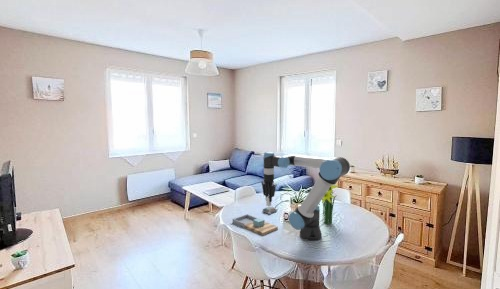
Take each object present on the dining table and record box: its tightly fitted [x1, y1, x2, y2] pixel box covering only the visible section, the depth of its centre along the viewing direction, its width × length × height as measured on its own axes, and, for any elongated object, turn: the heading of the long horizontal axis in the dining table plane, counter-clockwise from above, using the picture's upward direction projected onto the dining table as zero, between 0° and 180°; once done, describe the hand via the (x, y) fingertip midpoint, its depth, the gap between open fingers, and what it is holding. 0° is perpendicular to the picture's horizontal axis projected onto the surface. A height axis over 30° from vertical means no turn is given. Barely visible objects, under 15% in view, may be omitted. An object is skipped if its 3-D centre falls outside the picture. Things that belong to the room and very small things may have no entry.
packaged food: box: [261, 206, 279, 215], centre depth 234 cm, size 9×12×5 cm
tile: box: [253, 217, 265, 227], centre depth 202 cm, size 6×6×4 cm
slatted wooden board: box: [243, 221, 279, 236], centre depth 201 cm, size 20×16×2 cm
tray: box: [232, 214, 258, 228], centre depth 213 cm, size 13×16×3 cm
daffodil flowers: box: [321, 184, 339, 226], centre depth 207 cm, size 17×15×35 cm
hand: (268, 205), depth 193 cm, fingers closed
